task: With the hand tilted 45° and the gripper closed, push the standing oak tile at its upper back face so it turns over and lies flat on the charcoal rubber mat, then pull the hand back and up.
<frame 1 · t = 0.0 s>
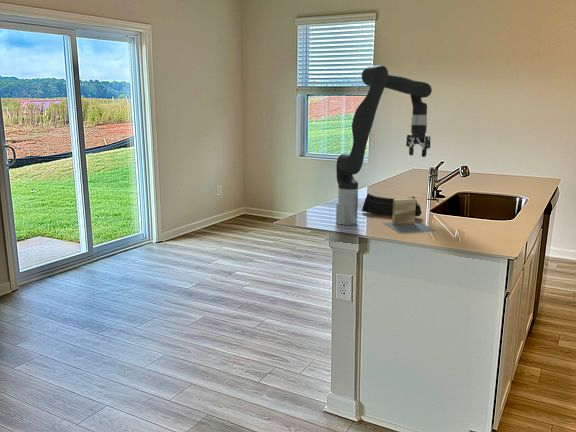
hand: (417, 156, 262), 29 cm above the countertop, tool pointing down, fingers open, 8 cm apart
magazine: (390, 216, 260), on the countertop
rubber mat: (408, 227, 236), on the countertop
oak tile: (403, 224, 241), resting on rubber mat
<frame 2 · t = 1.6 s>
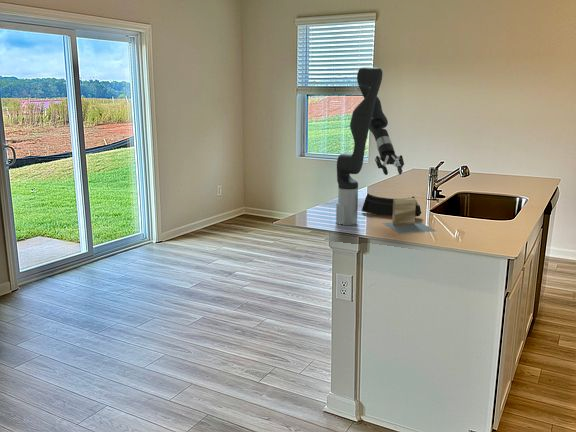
hand: (393, 173, 249), 22 cm above the countertop, tool tilted 45°, fingers open, 6 cm apart
nothing on the countertop moved.
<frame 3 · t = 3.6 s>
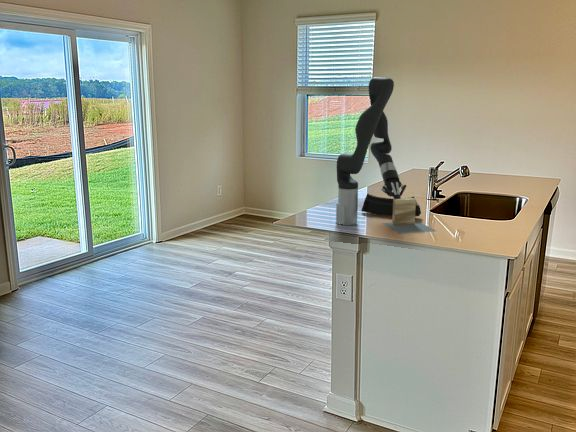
hand: (398, 202, 246), 9 cm above the countertop, tool tilted 45°, fingers closed
nothing on the countertop moved.
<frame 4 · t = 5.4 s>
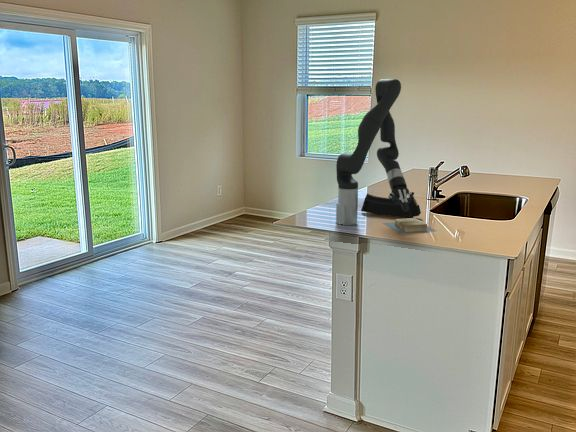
hand: (406, 210, 237), 7 cm above the countertop, tool tilted 45°, fingers closed
oak tile: (405, 221, 240), point 2 cm above the countertop, tilted 90°, touching rubber mat
everything else where it was.
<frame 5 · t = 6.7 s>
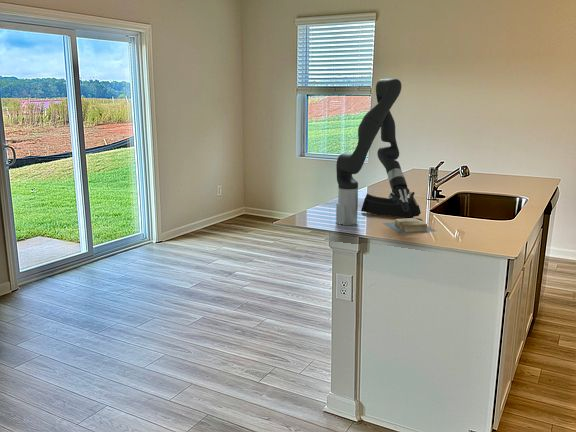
hand: (406, 210, 237), 8 cm above the countertop, tool tilted 45°, fingers closed
nothing on the countertop moved.
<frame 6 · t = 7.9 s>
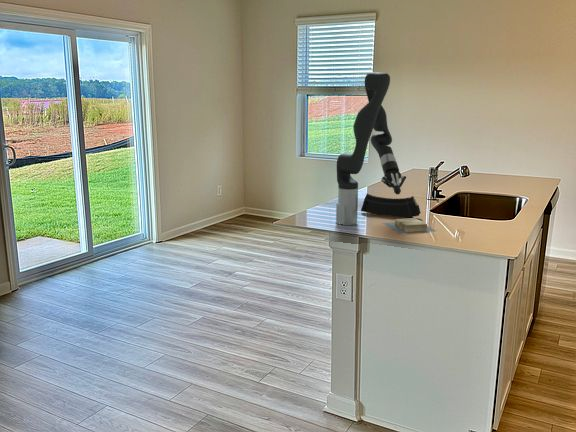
hand: (398, 193, 245), 14 cm above the countertop, tool tilted 45°, fingers closed
nothing on the countertop moved.
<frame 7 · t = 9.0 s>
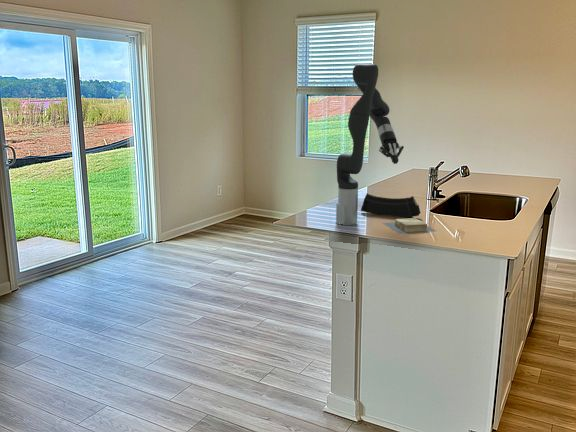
hand: (396, 162, 247), 28 cm above the countertop, tool tilted 45°, fingers closed
nothing on the countertop moved.
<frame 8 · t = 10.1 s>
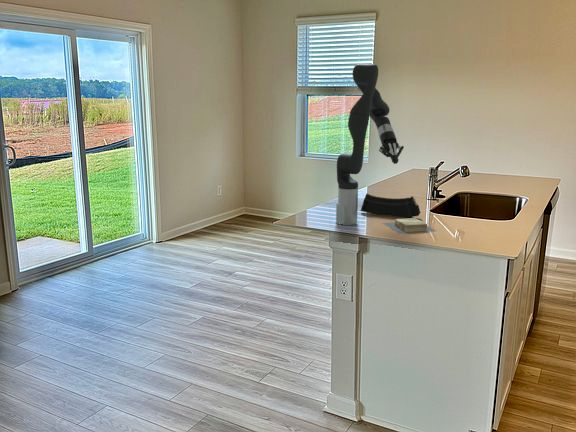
hand: (396, 162, 247), 28 cm above the countertop, tool tilted 45°, fingers closed
nothing on the countertop moved.
at the end: oak tile tilted 90°; oak tile inside the target area on the rubber mat (0.4 cm from its centre), point 1.9 cm above the rubber mat's base; the gripper is holding nothing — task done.
